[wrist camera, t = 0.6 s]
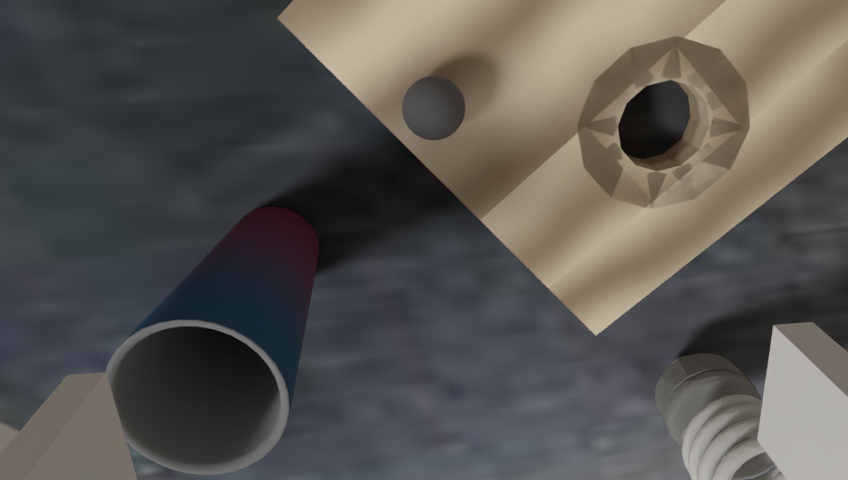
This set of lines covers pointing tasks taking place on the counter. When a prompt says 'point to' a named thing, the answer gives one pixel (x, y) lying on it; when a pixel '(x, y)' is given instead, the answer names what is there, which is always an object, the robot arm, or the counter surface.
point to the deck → (600, 119)
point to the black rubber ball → (433, 108)
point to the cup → (221, 350)
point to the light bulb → (713, 418)
